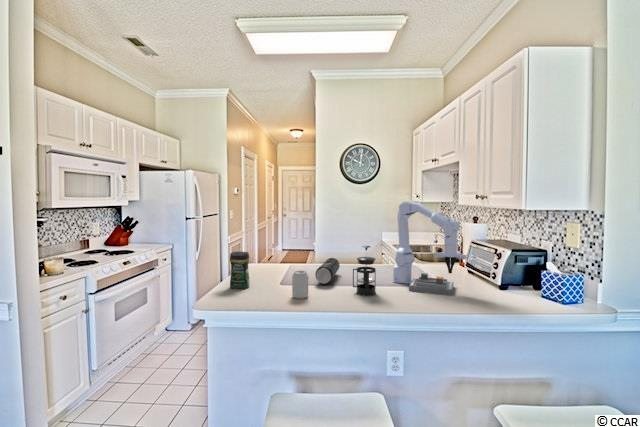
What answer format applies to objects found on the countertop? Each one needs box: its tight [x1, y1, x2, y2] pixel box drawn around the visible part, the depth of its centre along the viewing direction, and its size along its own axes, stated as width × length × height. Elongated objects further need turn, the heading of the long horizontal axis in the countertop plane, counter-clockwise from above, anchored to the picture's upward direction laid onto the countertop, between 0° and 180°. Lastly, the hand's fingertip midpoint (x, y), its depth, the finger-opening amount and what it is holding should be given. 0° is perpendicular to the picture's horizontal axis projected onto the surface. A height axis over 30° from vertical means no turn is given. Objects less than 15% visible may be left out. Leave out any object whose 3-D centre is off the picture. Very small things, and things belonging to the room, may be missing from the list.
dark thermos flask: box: [315, 257, 341, 285], centre depth 196 cm, size 10×28×10 cm, turn 169°
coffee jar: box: [229, 251, 251, 290], centre depth 181 cm, size 10×8×19 cm
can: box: [291, 270, 309, 300], centre depth 164 cm, size 8×8×12 cm
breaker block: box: [408, 271, 455, 296], centre depth 178 cm, size 20×16×7 cm
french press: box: [352, 245, 377, 297], centre depth 170 cm, size 12×9×23 cm
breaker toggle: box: [435, 276, 444, 284], centre depth 173 cm, size 3×3×4 cm
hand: (450, 272), depth 171 cm, fingers closed
